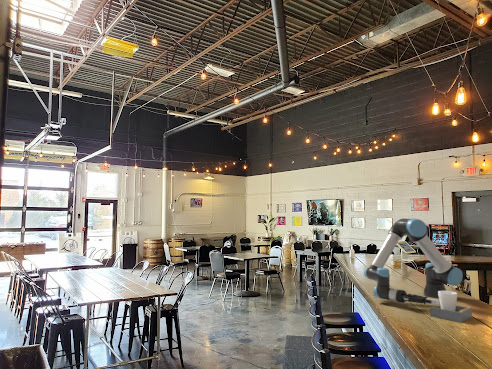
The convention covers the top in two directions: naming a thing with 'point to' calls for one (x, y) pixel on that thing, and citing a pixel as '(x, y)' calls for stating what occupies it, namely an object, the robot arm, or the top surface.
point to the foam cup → (447, 300)
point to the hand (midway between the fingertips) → (437, 302)
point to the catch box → (452, 313)
